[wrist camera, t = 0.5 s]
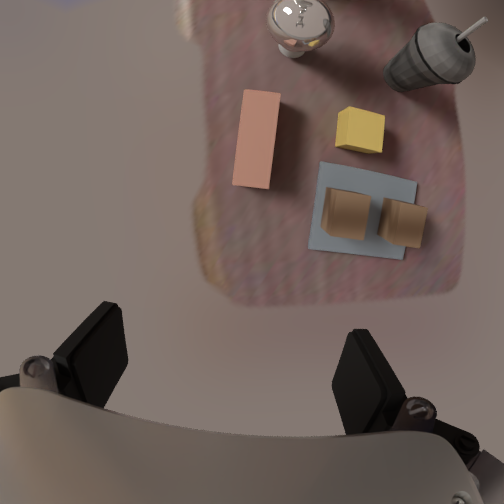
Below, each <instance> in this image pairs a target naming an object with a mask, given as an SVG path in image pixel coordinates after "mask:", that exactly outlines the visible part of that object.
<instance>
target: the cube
mask: <svg viewBox="0 0 504 504" xmlns="http://www.w3.org/2000/svg"><path fill="white" fill-rule="evenodd" d="M384 123H385V116H384V115H380V114H377V113H373V112H369V111H366V110H362V109H358V108H354V107H350V106H349V107H348V108H346V109H344V110H343V111H341V112H339V113H338V123H337V133H336V143H335V147H339V148H344V149H349V150H354V151H359V152H363V153H367V154H368V153H381V152H382V146H383V135H384Z"/></svg>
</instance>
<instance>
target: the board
mask: <svg viewBox="0 0 504 504" xmlns="http://www.w3.org/2000/svg"><path fill="white" fill-rule="evenodd" d="M326 187H330V188H336V189H342V190H348V191H353V192H358V193H362V194H365V195H369V196H371V202H370V208H369V214H368V220H367V225H366V231H365V236H364V240H357V239H349V238H341V237H333V236H330V235H329V234H328V233H326V232H325V231H324V230H323V229H322V228H321V227H320V225H321V219H322V212H323V205H324V198H325V191H326ZM416 187H417V182H414V181H411V180H407V179H403V178H399V177H395V176H390V175H386V174H382V173H377V172H373V171H368V170H363V169H359V168H354V167H349V166H343V165H338V164H332V163H327V162H320V164H319V172H318V180H317V188H316V195H315V203H314V210H313V216H312V223H311V230H310V236H309V242H308V248H309V249H314V250H323V251H332V252H341V253H349V254H358V255H367V256H375V257H384V258H392V259H401V260H403V256H404V251H405V247H406V246H400V245H393V244H392V243H390V242H388V241H387V240H385V239H384V238H382V237H380V236H379V235H377V232H378V227H379V221H380V216H381V210H382V204H383V197H385V198H390V199H395V200H399V201H404V202H408V203H412V204H414V201H415V194H416Z"/></svg>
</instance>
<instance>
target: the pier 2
mask: <svg viewBox="0 0 504 504" xmlns="http://www.w3.org/2000/svg"><path fill="white" fill-rule="evenodd" d="M427 210H428V208H425V207H422V206H419V205H415V204H412V203H408V202H404V201H399V200H395V199H390V198H385V197H383V204H382V210H381V216H380V221H379V227H378V232H377V235H379V236H380V237H382V238H384V239H385V240H387V241H388V242H390V243H392V244H393V245H400V246H407V247H414V248H420V245H421V240H422V236H423V231H424V226H425V221H426V215H427Z"/></svg>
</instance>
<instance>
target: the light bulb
mask: <svg viewBox="0 0 504 504" xmlns="http://www.w3.org/2000/svg"><path fill="white" fill-rule="evenodd" d="M266 26H267V30H268V31H269V33H270V35H271V36H272V38H273V39H274V40H275V41H276V42H277V43H278V44H279V49H280V51H281V52H282V54H283V55H285V56H287V57H289V58H298V57H300V56H302V55H303V54H304V52H305V51H311V50H315V49H317V48H319V47H322V46H323V45H324V44H326V43H327V42H328V40H329V39H330V38H331V37H332V34H333V32H334V28H335V21H334V16H333V13H332V12H331V10H330V8H329V7H328V6H327V5H326V3H324V2H323V1H322V0H275V1H274V2H273V3H272V4H271V6H270V7H269V9H268V11H267V15H266Z"/></svg>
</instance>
